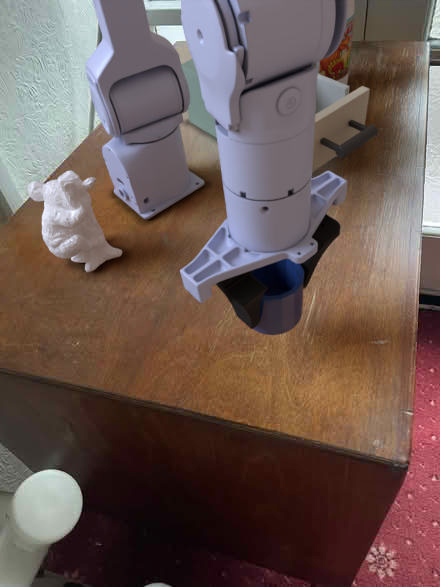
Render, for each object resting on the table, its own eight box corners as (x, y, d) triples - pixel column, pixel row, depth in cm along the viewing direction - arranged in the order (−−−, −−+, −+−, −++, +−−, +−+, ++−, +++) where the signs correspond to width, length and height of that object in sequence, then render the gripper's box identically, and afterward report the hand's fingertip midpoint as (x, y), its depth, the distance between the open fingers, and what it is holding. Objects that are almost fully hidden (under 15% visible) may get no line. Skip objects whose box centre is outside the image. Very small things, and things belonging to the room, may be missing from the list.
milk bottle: (297, 104, 70) (300, -57, 54) (294, 78, 74) (296, -75, 59) (350, 99, 69) (368, -65, 53) (343, 74, 74) (358, -83, 58)
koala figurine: (138, 244, 55) (107, 157, 45) (109, 286, 51) (69, 201, 42) (79, 230, 57) (39, 146, 48) (48, 269, 54) (-3, 186, 44)
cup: (271, 346, 39) (270, 311, 35) (231, 310, 42) (225, 273, 38) (315, 311, 40) (318, 274, 37) (273, 278, 43) (271, 241, 39)
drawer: (387, 149, 59) (397, 99, 54) (325, 192, 55) (330, 142, 50) (294, 106, 68) (295, 59, 62) (236, 140, 64) (231, 93, 59)
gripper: (219, 265, 25) (239, 383, 35) (392, 145, 30) (364, 280, 40) (147, 205, 29) (184, 328, 39) (310, 107, 33) (304, 240, 44)
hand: (271, 301), depth 40 cm, fingers closed on cup, 5 cm apart
